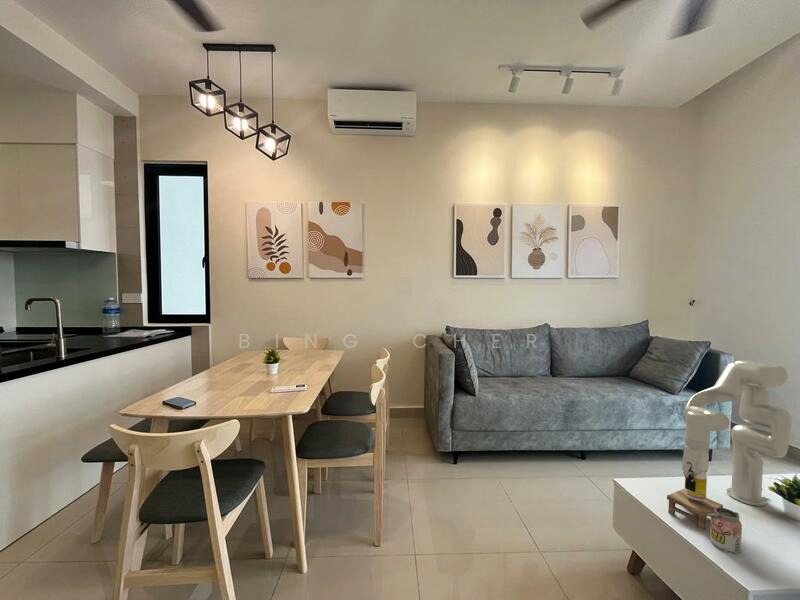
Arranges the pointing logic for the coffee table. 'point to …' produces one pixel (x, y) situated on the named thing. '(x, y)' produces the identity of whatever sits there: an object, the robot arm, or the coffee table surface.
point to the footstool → (692, 507)
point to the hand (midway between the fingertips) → (695, 487)
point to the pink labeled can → (725, 530)
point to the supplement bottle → (698, 487)
